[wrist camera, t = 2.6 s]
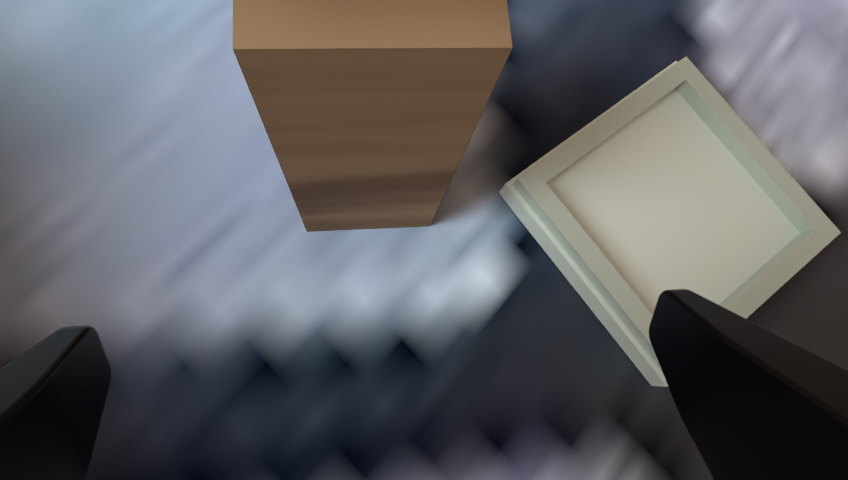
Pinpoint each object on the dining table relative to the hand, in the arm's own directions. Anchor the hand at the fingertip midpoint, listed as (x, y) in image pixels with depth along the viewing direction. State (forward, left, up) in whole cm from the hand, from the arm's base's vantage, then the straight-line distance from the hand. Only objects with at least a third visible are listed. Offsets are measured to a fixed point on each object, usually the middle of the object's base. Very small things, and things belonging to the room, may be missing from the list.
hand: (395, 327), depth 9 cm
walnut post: (+6, -4, -13) cm, 15 cm away
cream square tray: (-3, -13, -13) cm, 19 cm away
